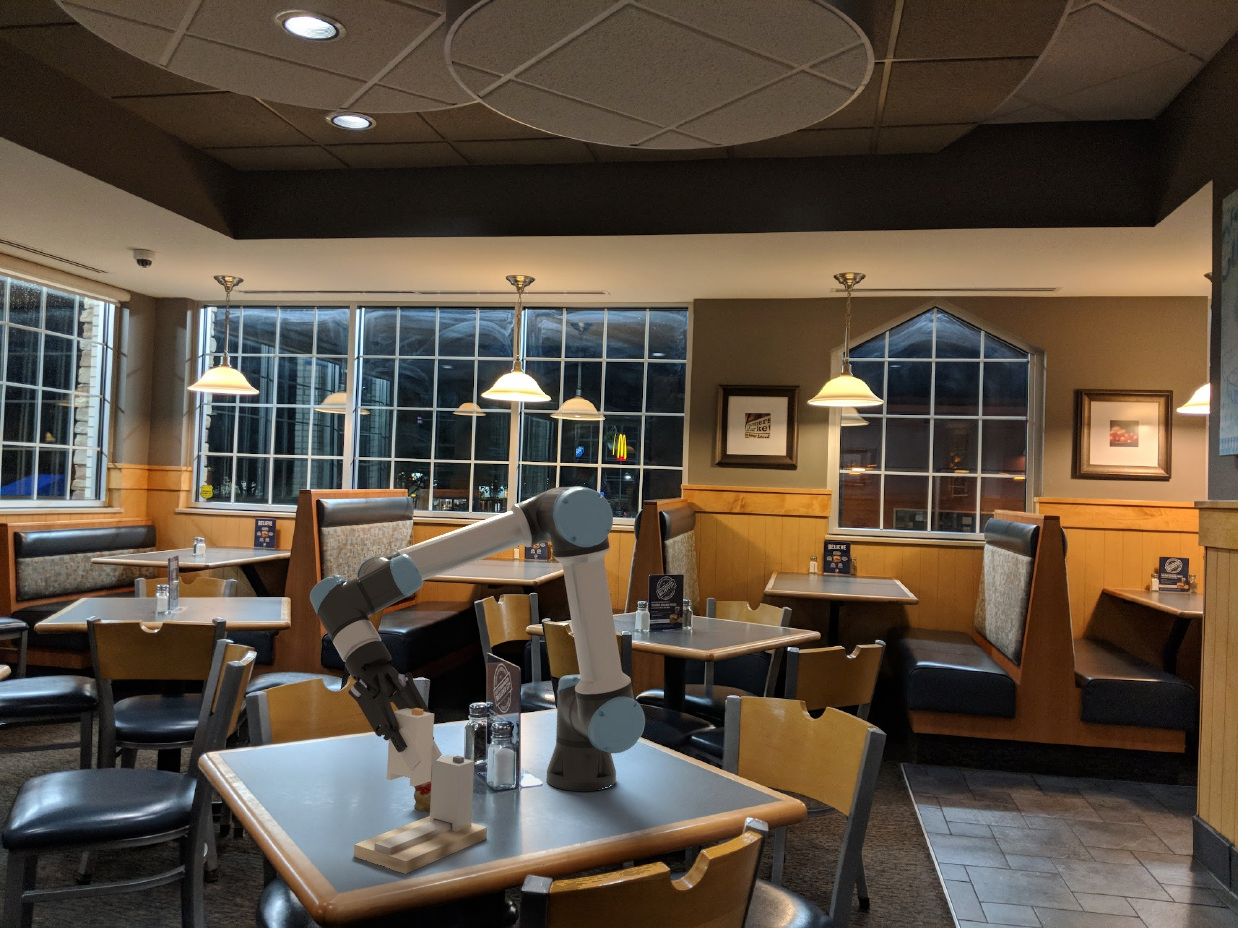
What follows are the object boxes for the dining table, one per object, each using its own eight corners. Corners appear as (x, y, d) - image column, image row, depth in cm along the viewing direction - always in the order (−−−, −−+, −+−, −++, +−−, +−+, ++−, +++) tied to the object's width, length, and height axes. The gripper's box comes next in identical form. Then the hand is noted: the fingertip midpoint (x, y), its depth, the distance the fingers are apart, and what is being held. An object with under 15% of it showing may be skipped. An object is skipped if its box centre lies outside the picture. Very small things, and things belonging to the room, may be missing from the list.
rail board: (436, 823, 173) (437, 807, 173) (486, 838, 166) (487, 821, 166) (353, 856, 156) (354, 837, 156) (405, 873, 149) (406, 854, 150)
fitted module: (429, 823, 167) (432, 754, 168) (444, 817, 170) (447, 750, 171) (456, 831, 164) (459, 761, 164) (471, 825, 167) (474, 756, 168)
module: (386, 779, 159) (390, 707, 159) (403, 773, 162) (407, 703, 163) (413, 786, 155) (417, 712, 156) (430, 781, 159) (434, 708, 159)
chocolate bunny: (432, 800, 186) (435, 750, 186) (453, 811, 180) (456, 759, 180) (408, 805, 182) (410, 754, 183) (428, 817, 176) (430, 763, 177)
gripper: (387, 659, 175) (448, 764, 165) (313, 671, 160) (376, 786, 151) (409, 634, 172) (472, 739, 163) (336, 643, 158) (401, 759, 148)
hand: (426, 762), depth 157 cm, fingers closed on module, 4 cm apart
